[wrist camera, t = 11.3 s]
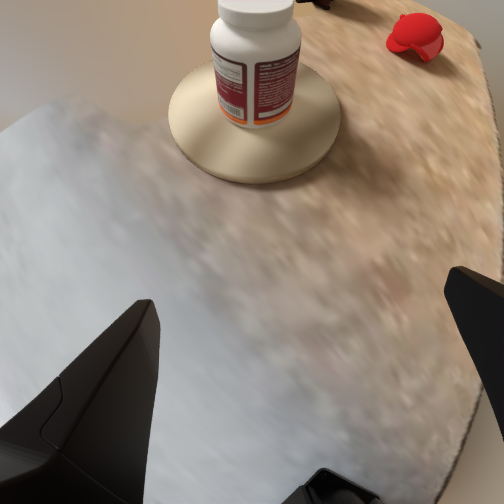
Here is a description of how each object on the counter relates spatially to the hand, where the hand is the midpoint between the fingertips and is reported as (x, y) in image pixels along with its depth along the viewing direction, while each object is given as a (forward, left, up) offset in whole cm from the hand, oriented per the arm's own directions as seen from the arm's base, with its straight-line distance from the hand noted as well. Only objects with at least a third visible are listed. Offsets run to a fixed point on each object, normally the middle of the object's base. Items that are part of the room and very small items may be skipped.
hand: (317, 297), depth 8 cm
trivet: (+12, -13, -13) cm, 22 cm away
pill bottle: (+12, -13, -12) cm, 22 cm away
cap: (+5, -36, -14) cm, 39 cm away
